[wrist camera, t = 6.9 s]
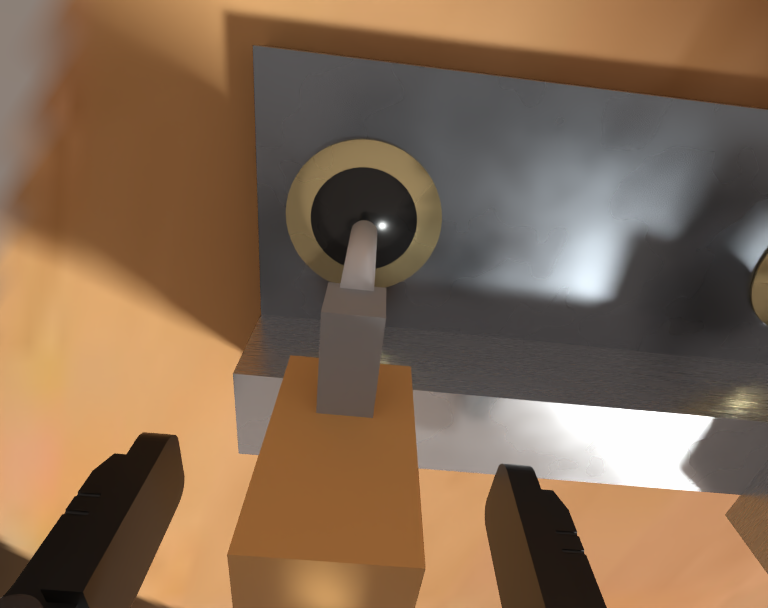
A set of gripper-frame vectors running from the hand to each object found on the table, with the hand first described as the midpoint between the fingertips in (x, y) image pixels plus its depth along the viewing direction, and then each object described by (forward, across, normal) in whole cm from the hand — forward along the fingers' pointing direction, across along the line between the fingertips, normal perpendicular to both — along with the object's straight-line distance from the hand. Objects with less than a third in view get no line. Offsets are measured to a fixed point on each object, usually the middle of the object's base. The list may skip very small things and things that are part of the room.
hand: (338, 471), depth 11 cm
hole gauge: (+6, -8, -3) cm, 10 cm away
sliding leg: (+4, 0, -1) cm, 4 cm away
